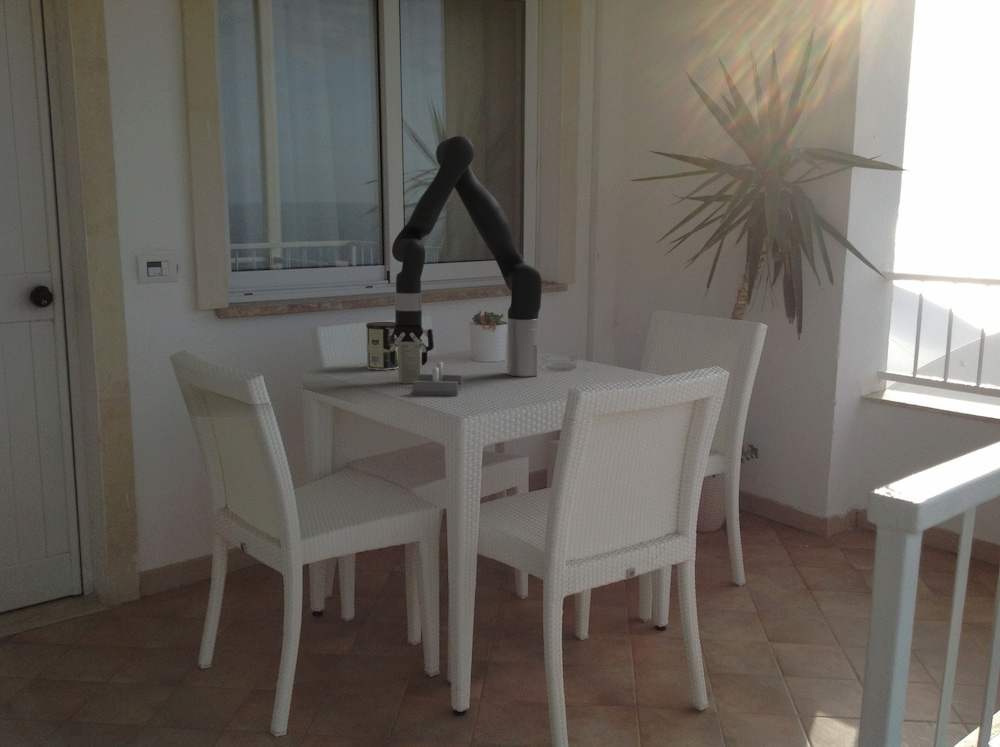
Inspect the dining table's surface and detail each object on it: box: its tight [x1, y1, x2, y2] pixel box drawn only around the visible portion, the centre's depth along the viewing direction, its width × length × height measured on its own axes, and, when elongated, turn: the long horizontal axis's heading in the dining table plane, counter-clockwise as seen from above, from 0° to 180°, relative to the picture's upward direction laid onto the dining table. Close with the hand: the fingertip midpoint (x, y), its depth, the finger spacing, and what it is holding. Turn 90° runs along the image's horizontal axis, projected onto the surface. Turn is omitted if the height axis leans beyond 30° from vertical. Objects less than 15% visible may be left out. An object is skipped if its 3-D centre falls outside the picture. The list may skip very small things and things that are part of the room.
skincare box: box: [397, 341, 421, 384], centre depth 272 cm, size 6×4×12 cm
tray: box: [412, 361, 463, 397], centre depth 260 cm, size 12×12×7 cm
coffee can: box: [365, 321, 398, 371], centre depth 295 cm, size 10×10×14 cm
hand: (408, 364), depth 272 cm, fingers open, 8 cm apart
